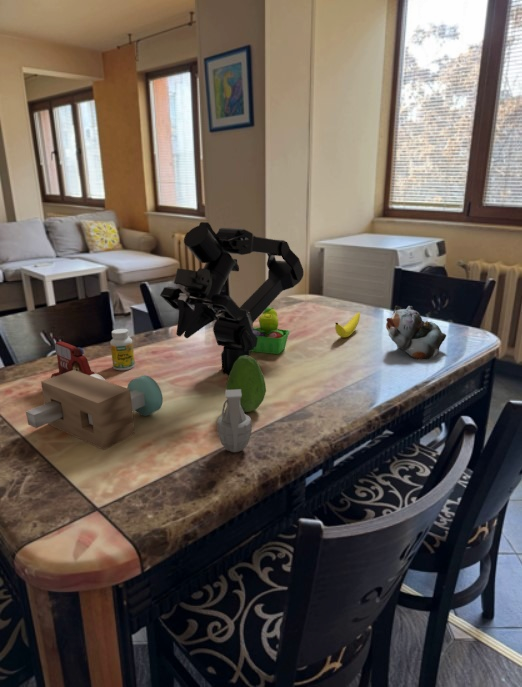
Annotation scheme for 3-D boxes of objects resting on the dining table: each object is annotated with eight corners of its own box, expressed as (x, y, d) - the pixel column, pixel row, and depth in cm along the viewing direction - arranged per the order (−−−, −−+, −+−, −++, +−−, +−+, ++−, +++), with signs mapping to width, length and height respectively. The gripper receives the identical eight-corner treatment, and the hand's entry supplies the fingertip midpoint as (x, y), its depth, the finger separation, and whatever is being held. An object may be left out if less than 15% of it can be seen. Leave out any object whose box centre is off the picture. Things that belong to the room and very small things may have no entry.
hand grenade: (218, 442, 89) (215, 386, 85) (250, 440, 89) (249, 384, 86) (218, 462, 83) (215, 402, 79) (253, 460, 83) (252, 400, 80)
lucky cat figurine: (431, 364, 124) (407, 316, 121) (392, 369, 134) (369, 326, 131) (454, 334, 133) (432, 289, 130) (416, 341, 143) (395, 300, 140)
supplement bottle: (130, 361, 129) (127, 326, 126) (138, 368, 124) (134, 331, 121) (110, 366, 126) (106, 330, 123) (117, 372, 122) (112, 335, 119)
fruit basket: (241, 351, 135) (240, 311, 132) (254, 342, 143) (253, 304, 139) (281, 356, 131) (281, 315, 127) (291, 346, 139) (292, 307, 135)
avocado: (252, 422, 96) (251, 364, 92) (219, 413, 100) (217, 357, 96) (273, 407, 102) (272, 352, 99) (241, 398, 106) (240, 346, 103)
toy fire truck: (77, 401, 106) (70, 356, 103) (48, 387, 114) (41, 344, 111) (105, 391, 111) (100, 347, 108) (76, 378, 119) (70, 336, 116)
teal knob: (138, 406, 102) (134, 371, 100) (164, 415, 98) (161, 379, 96) (82, 432, 92) (77, 394, 90) (108, 443, 88) (104, 404, 86)
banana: (363, 328, 155) (364, 308, 153) (340, 345, 140) (341, 323, 138) (354, 326, 156) (355, 307, 154) (330, 343, 141) (331, 322, 139)
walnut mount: (90, 406, 104) (84, 365, 101) (145, 427, 94) (141, 384, 92) (22, 434, 92) (14, 390, 90) (78, 463, 83) (71, 414, 80)
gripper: (163, 250, 108) (128, 309, 103) (229, 256, 98) (194, 323, 93) (190, 279, 116) (159, 336, 112) (254, 288, 106) (223, 351, 101)
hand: (181, 336), depth 104 cm, fingers closed
